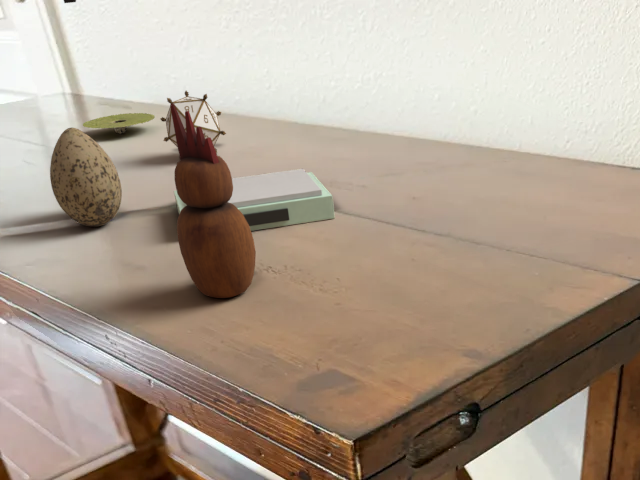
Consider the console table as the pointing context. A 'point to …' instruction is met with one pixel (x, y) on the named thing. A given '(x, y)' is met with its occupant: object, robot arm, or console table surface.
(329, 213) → the kitchen scale
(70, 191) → the decorative egg
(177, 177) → the wooden figurine
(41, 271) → the console table surface
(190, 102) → the game die
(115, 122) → the olive green flat disc
